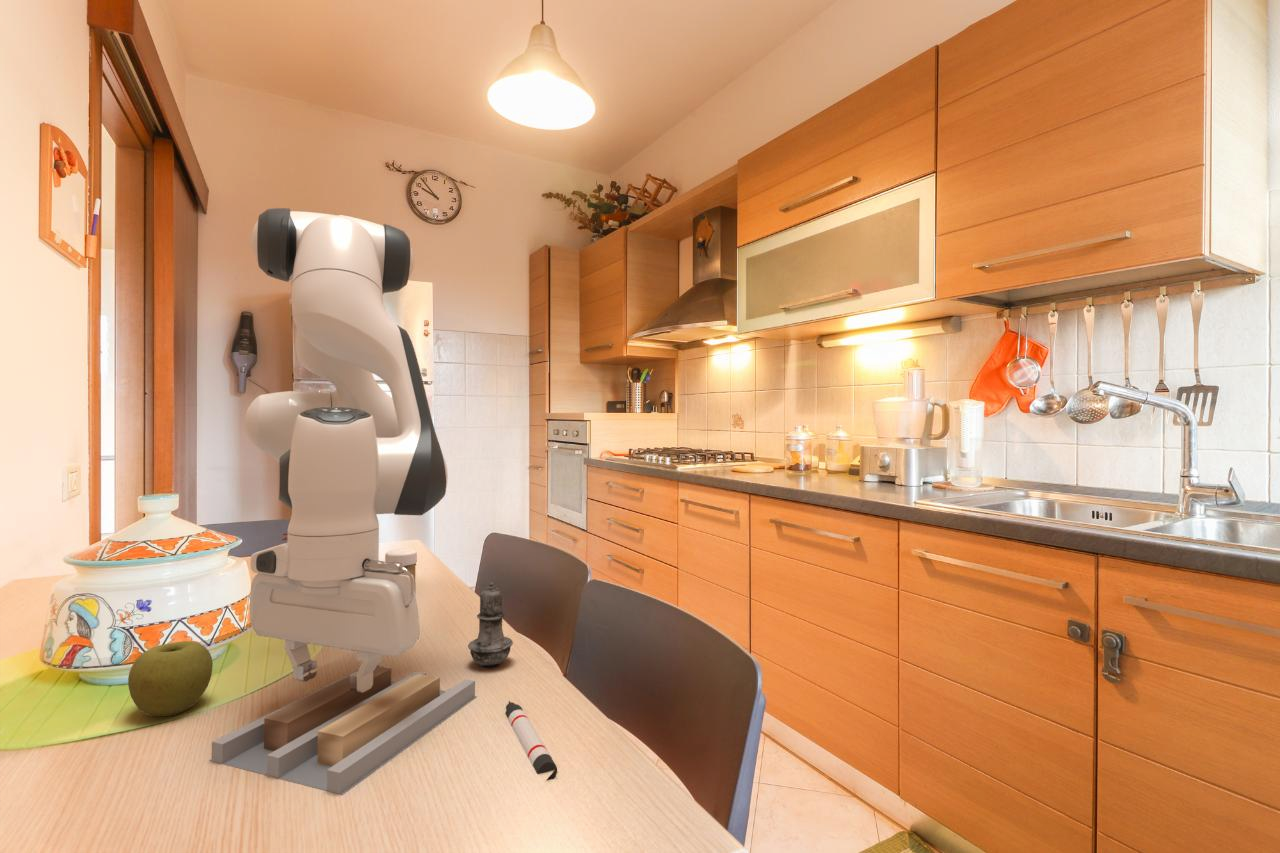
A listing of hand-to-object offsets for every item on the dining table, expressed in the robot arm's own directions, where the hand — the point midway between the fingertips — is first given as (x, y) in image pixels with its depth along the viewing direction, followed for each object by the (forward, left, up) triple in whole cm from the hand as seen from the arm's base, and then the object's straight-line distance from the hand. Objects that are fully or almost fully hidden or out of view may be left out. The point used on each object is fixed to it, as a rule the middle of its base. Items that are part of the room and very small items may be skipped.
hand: (332, 684), depth 64 cm
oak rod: (+7, 0, -4) cm, 8 cm away
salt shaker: (+8, +19, -5) cm, 21 cm away
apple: (-20, -3, -5) cm, 21 cm away
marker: (+21, +4, -5) cm, 22 cm away
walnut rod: (0, 0, -4) cm, 4 cm away
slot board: (+4, 0, -5) cm, 6 cm away
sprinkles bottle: (-12, +25, -5) cm, 28 cm away
